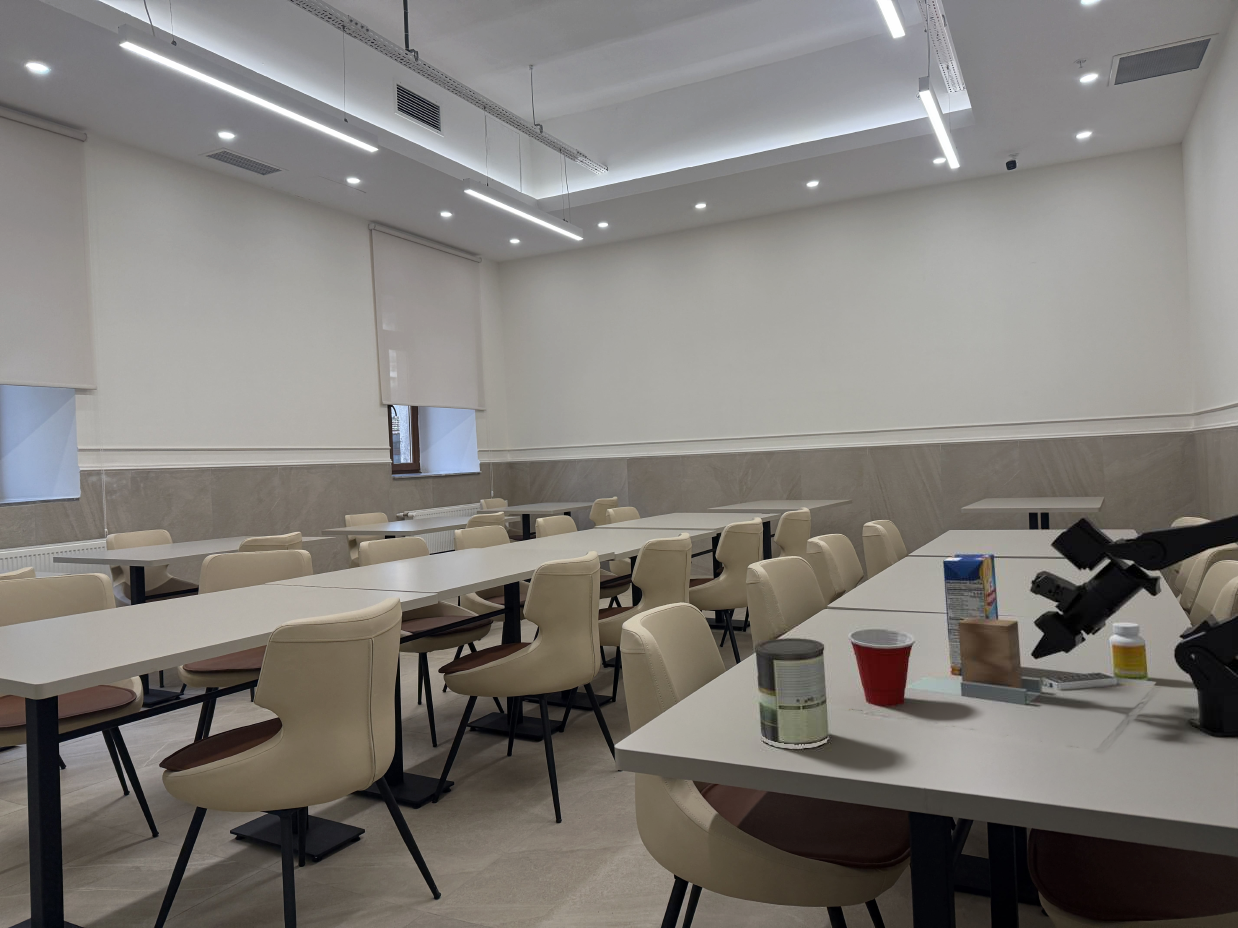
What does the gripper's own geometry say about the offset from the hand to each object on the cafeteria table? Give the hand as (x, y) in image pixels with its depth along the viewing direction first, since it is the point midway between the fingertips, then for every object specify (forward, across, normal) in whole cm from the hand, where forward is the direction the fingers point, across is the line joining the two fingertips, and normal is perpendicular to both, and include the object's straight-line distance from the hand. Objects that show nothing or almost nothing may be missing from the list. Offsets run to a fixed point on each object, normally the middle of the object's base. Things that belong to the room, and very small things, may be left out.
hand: (1033, 656), depth 130 cm
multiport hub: (+4, -12, +8) cm, 15 cm away
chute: (+13, 0, -2) cm, 13 cm away
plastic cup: (+19, +14, -8) cm, 25 cm away
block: (+10, 0, 0) cm, 10 cm away
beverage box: (+16, -14, -5) cm, 22 cm away
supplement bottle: (0, -23, +12) cm, 26 cm away
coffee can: (+22, +36, -11) cm, 44 cm away
